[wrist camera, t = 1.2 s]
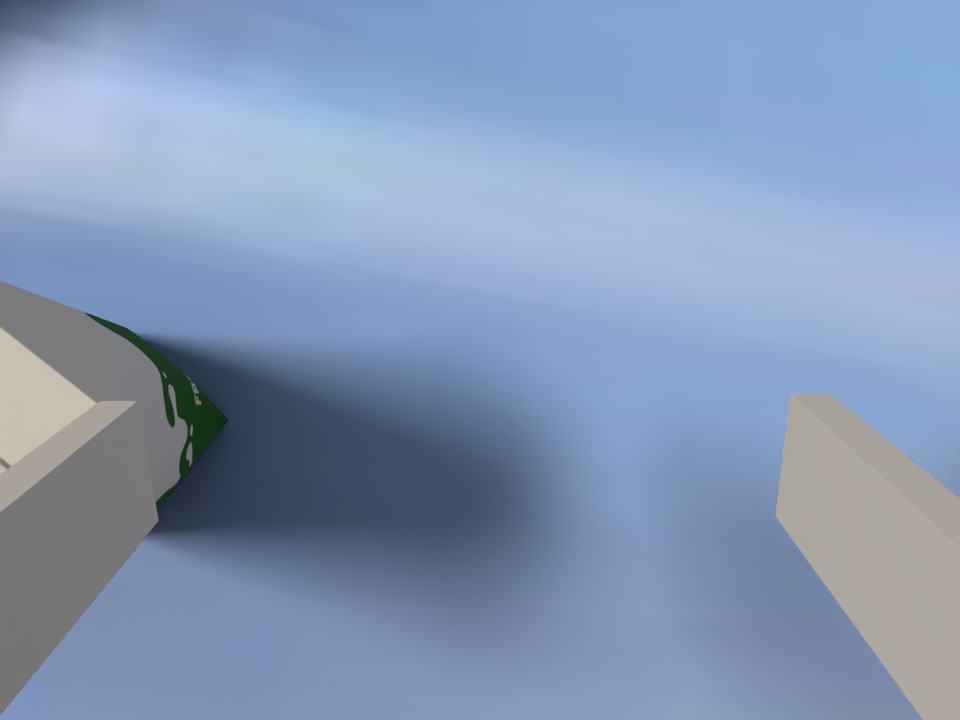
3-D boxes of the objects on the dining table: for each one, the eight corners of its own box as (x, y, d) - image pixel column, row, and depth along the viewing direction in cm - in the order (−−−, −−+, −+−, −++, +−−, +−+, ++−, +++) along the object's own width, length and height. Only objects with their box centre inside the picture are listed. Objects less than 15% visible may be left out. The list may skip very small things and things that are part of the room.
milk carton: (-18, 446, 34) (-527, 487, 15) (116, 302, 36) (-184, 163, 16) (131, 561, 35) (-167, 748, 15) (258, 415, 37) (134, 413, 17)
